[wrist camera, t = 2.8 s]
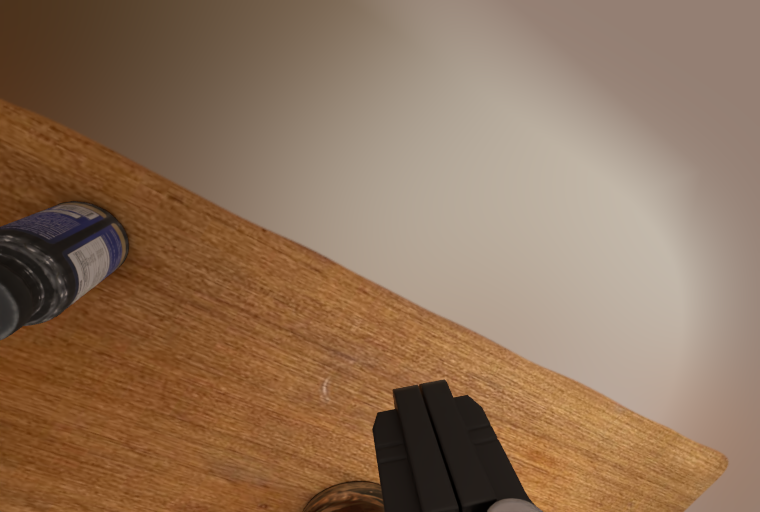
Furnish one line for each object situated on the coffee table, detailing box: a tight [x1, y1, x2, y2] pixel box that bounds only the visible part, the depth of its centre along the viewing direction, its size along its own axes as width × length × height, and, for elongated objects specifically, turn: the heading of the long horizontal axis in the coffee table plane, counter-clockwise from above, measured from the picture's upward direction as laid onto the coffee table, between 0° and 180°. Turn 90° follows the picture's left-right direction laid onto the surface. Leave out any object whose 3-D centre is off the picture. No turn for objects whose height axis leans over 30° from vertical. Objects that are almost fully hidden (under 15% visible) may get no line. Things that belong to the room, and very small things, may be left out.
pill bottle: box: [0, 201, 129, 340], centre depth 26 cm, size 6×6×11 cm
